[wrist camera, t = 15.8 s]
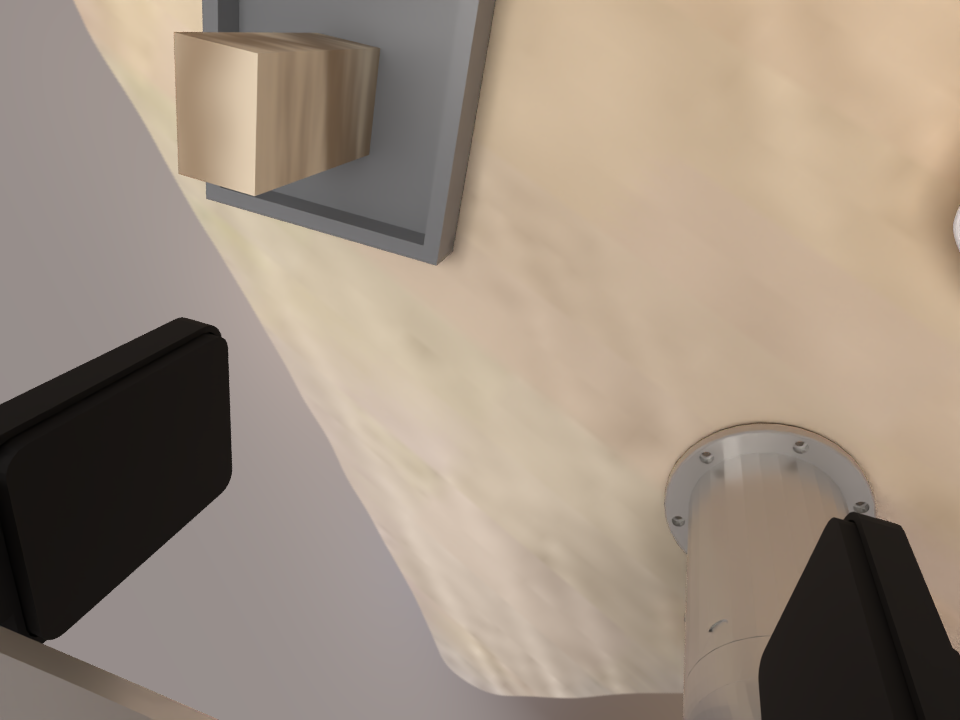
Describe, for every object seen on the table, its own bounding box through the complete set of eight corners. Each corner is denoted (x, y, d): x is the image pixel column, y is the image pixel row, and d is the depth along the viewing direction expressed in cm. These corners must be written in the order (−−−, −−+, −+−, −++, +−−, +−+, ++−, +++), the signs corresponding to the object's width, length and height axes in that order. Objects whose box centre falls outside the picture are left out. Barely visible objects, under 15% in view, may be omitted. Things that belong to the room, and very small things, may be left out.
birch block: (380, 48, 37) (257, 53, 27) (369, 154, 40) (254, 196, 30) (316, 32, 38) (173, 32, 28) (310, 138, 41) (178, 173, 31)
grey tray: (452, 251, 42) (436, 265, 40) (234, 189, 45) (206, 198, 43) (501, -33, 35) (485, -39, 32) (234, -88, 37) (200, -97, 35)
